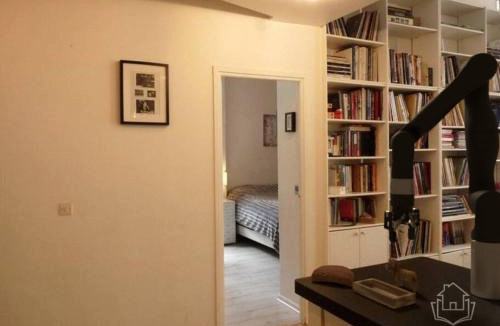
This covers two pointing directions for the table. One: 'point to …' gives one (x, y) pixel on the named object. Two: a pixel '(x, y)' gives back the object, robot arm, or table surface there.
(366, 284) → the rectangular tray
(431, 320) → the table surface
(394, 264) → the lion figurine
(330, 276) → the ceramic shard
